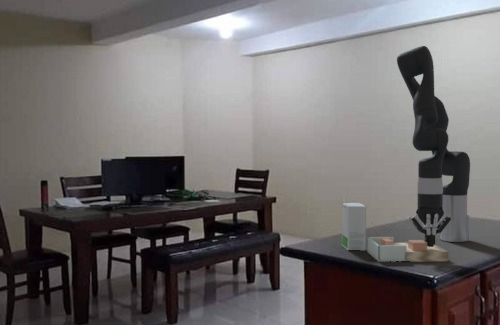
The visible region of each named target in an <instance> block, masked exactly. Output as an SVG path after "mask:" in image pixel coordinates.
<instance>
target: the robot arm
mask: <svg viewBox="0 0 500 325" xmlns="http://www.w3.org/2000/svg"><path fill="white" fill-rule="evenodd" d="M396 64H397V67H398V70H399V72H400V75H401V77H402V79H403V81H404V83H405V85H406V87H407V89H408V91H409V94H410V95H411V96H410V97H411V99H412V108H413V115H414V132H413V136H412V146H413V148H414V149H415V150H416V151H418V152H431V154H432V156H430V157H426V158H422V159H420V160H419V161H418V166H417V167H418V169H417V170H418V171H417V172H418V180H417V204H416V205H417V209H416V212H415V214H414V215H412V216H410V217H409V221H410V222H411V223H412V224H413V226H414V227H415V229H417V231H418V232H419V233H421V234H424V241H425V242H427V246H428V247H433V246H434V245H436V236H437V234H439V235H440V238H439V239H440V240H441V241H445V242H449V243H450V242H452V243H465V242H470V215H469V214H468V190H469V186H470V174H471V161H470V160H471V159H470V156H469V155H468V153H467V152H465V151H451V150H450V151H449V150H448V143H449V134H448V132H447V130H448V127H449V121H450V120H449V116H448V113H447V110H446V107H445V105H444V103H443V101H442V100H441V99H440V98H438V96H436V95H435V71H434V70H435V68H434V67H435V66H434V61H433V56H432V54H431V50H430V49H429V48H428V46H427V45H421V46H418V47H415V48H412V49H410V50H407V51H404V52H401V53H399V54H397V56H396ZM418 76H422V78H421V79H422V80H421V82H420V83H419V82H418V81H417V79H416V78H415V77H418ZM443 176H447V177H452V180H451V181H450V183H448V184H445V185H444V183H443ZM419 221H421V223H422V225H421V224H420V223H419Z"/></svg>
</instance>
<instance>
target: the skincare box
mask: <svg viewBox="0 0 500 325" xmlns="http://www.w3.org/2000/svg"><path fill="white" fill-rule="evenodd" d="M341 211H342V214H341V215H342V218H341V220H342V222H341V246H342V247H343V248H344V249H345V250H347V251H348V250H360V251H366V238H367V237H366V234H367V230H366V229H367V206H366V205H364V204H362V203H361V202H343V203H342V210H341Z"/></svg>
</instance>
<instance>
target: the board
mask: <svg viewBox="0 0 500 325" xmlns="http://www.w3.org/2000/svg"><path fill="white" fill-rule="evenodd" d="M394 244H396V245H406V246H407V261H410V263H412V262H415V263H417V262H419V263H420V262H421V263H423V262H427V263H428V262H449V250H446V249H444V248H442V247H441V246H439V245H437V244H435V245H434V246H433V247H428V246H427V251H412V250H411V249H409V248H408V242H394Z"/></svg>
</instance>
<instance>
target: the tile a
mask: <svg viewBox="0 0 500 325" xmlns="http://www.w3.org/2000/svg"><path fill="white" fill-rule="evenodd" d="M389 245H393V241H392V240H390V239H381V246H389Z"/></svg>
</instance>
